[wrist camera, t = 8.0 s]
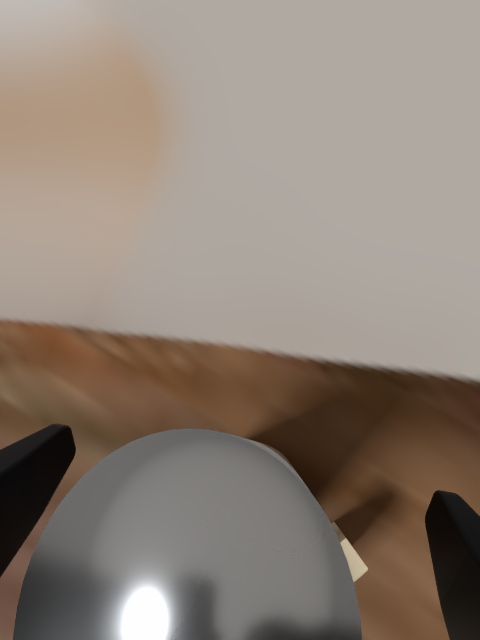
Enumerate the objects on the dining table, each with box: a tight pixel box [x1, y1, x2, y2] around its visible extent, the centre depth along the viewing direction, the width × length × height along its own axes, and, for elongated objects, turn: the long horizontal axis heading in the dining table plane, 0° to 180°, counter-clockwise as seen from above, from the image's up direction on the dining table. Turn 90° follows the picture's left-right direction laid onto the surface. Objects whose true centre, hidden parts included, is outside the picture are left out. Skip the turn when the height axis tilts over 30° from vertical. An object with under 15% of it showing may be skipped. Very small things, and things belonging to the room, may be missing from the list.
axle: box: [13, 428, 362, 640], centre depth 10 cm, size 4×4×13 cm
